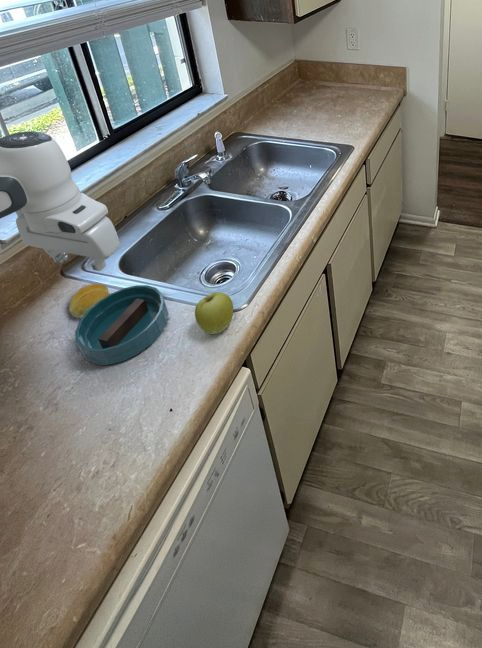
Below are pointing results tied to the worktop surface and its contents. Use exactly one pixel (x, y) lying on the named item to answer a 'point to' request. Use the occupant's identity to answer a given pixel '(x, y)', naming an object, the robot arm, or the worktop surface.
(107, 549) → the worktop surface
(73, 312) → the bread roll
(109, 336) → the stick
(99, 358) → the bowl
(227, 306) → the apple
